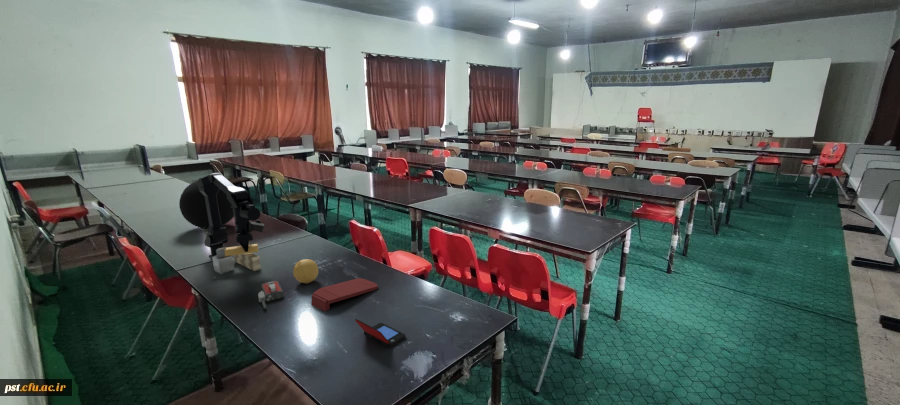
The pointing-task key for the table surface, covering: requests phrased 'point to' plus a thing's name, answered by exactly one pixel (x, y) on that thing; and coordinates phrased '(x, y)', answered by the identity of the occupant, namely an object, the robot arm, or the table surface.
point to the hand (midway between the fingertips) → (246, 251)
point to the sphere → (203, 206)
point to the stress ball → (305, 271)
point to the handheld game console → (382, 333)
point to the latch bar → (236, 250)
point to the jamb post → (223, 264)
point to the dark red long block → (341, 292)
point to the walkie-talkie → (270, 292)
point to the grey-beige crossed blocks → (248, 260)
